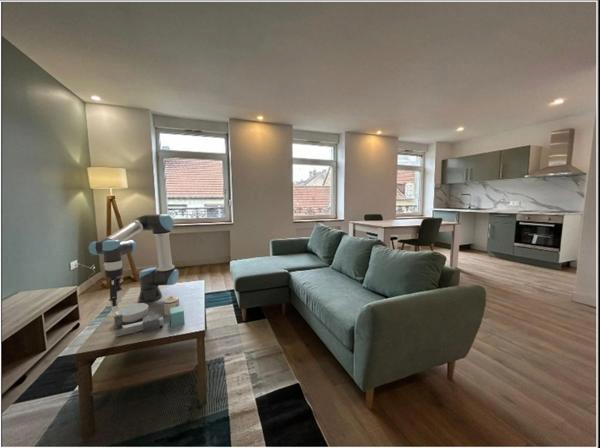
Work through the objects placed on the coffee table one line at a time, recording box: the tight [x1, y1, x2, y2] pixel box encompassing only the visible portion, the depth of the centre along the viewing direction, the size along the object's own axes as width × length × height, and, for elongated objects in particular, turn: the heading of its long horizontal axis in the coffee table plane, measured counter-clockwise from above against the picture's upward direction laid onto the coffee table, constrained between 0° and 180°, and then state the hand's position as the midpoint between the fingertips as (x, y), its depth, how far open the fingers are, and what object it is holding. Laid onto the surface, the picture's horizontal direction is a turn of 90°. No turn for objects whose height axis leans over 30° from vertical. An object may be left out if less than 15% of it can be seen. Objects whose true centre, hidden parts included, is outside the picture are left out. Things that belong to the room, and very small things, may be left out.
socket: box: [169, 305, 185, 328], centre depth 147 cm, size 9×7×8 cm
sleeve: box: [142, 313, 161, 334], centre depth 140 cm, size 7×8×6 cm
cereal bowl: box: [115, 302, 149, 323], centre depth 151 cm, size 17×17×7 cm
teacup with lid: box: [163, 294, 180, 317], centre depth 161 cm, size 12×9×12 cm
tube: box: [113, 315, 164, 337], centre depth 137 cm, size 4×23×10 cm, turn 122°
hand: (116, 306), depth 131 cm, fingers open, 13 cm apart
